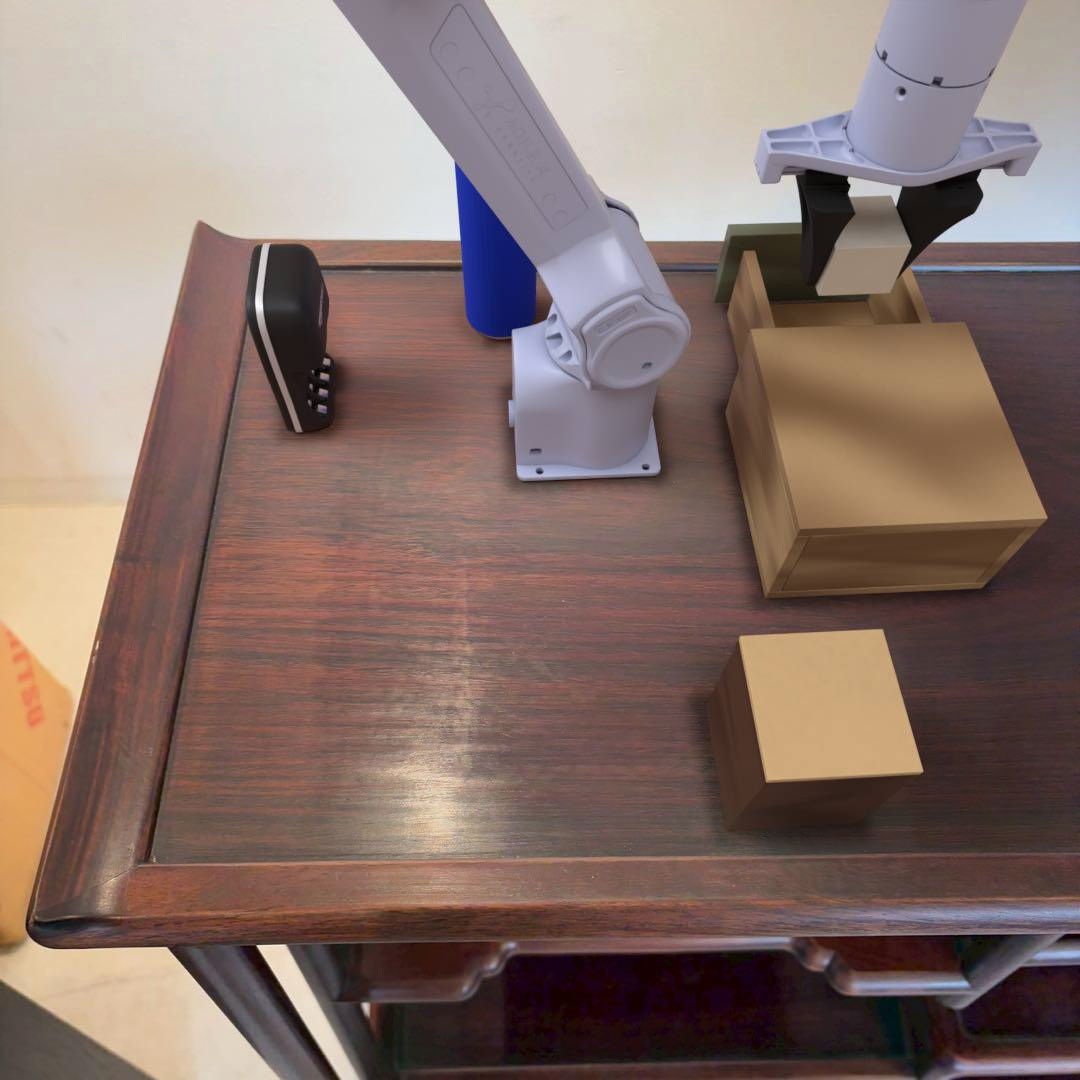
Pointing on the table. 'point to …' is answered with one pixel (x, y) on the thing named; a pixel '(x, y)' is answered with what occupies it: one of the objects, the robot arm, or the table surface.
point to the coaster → (827, 706)
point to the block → (867, 250)
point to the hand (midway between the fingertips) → (847, 273)
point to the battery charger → (292, 332)
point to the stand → (777, 802)
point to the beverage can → (492, 268)
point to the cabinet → (876, 461)
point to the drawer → (795, 287)
